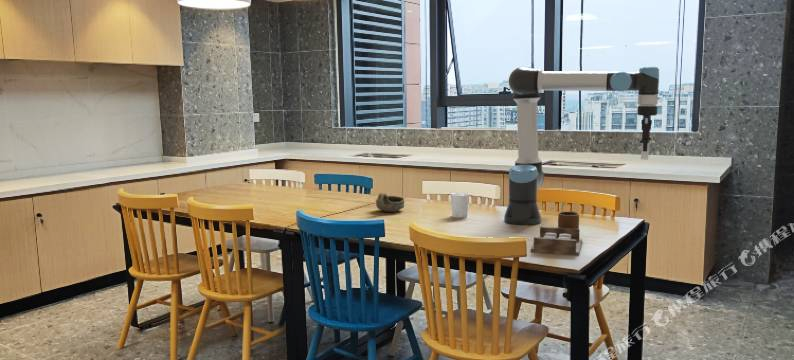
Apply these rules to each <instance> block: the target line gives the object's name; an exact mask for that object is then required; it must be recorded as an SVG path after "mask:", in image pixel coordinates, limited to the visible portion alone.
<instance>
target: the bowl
mask: <svg viewBox="0 0 794 360" xmlns="http://www.w3.org/2000/svg"><path fill="white" fill-rule="evenodd" d="M374 200H375V202H376V203H375V206H376V208H377V209H378V210H380V211H383V212H388V213H394V212H397V211H399V210H402V209H404V208H405V198H404V197H402V196H399V195H387V193H385V192H379V194H378V196H377V197H376V198H375V199H374Z"/></svg>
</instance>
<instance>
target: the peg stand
mask: <svg viewBox="0 0 794 360" xmlns="http://www.w3.org/2000/svg"><path fill="white" fill-rule="evenodd" d="M580 229H581V228H579V229H576V228H559V227H558V226H556V227H553V226H539V236H534V237H533V244H532V246H531V248H530V252H531V253H540V254H556V255H569V256H580V251H581V247H582V244H583V239H581V238H580Z"/></svg>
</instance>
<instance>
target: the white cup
mask: <svg viewBox="0 0 794 360" xmlns="http://www.w3.org/2000/svg"><path fill="white" fill-rule="evenodd" d="M469 196H470V193H467V192H452V193H450V205H451V217H452V218H458V219H460V218H462V219H463V218H468V211H469V199H470V197H469Z"/></svg>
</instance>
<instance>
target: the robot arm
mask: <svg viewBox="0 0 794 360" xmlns="http://www.w3.org/2000/svg"><path fill="white" fill-rule="evenodd" d="M659 84H660V69H659V68H658V67H657V66H641V67H639V70H638V71H634V72H633V71H632V72H631V71H622V70H621V71H543V70H542V69H541V68H533V67H527V66H520V67H516V68H515V69H513V70H512V71H511V73H510V74H509V77H508V86H509V88H510V91H512V95H513V96H512V100H513V101H514V102H515V104H516V115H517V117H516V118H517V124H516V125H517V150H518V152H517V153H518V154H517V155H518V158H517V159H516V160H515V161H514V165H513V166H511V167H510V168H509V172H508V205H507V208H506V210H505V213H504V222H505V223H508V224H512V225H520V226H521V225H524V226H525V225H526V226H527V225H529V226H531V225H536V224H541V222H542V219H541V218H542V216H541V212H540V210H539V207H538V189H539V188H540V187H541V186H542V185H543V183H544V180H545V174H544V171H543V160H542V159H541V158H540V157H539V137H538V136H539V131H538V130H539V129H538V102H539V100H540V99H541V92H542V91H561V92H562V91H564V92H565V91H567V92H568V91H569V92H571V91H575V92H576V91H577V92H578V91H579V92H583V91H585V92H586V91H587V92H595V91H597V92H627V91H629V92H631V91H632V92H633V91H635V92H637V91H638V93H637V94H638V95H637V105H638V106H637V109H636V110H637V111H636V114H637V116H643V118H642V119H641V123H640V124H641V131H642V136H641V140H640V141H639V144H641V149H640V150H641V151H640V160H649V156H650V141H652V137H651V136H650V132H651V129H652V124H653V120H652V119H651V117H652V116H657V115H658V103H659V102H658V100H660V97H658V96H659Z"/></svg>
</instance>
